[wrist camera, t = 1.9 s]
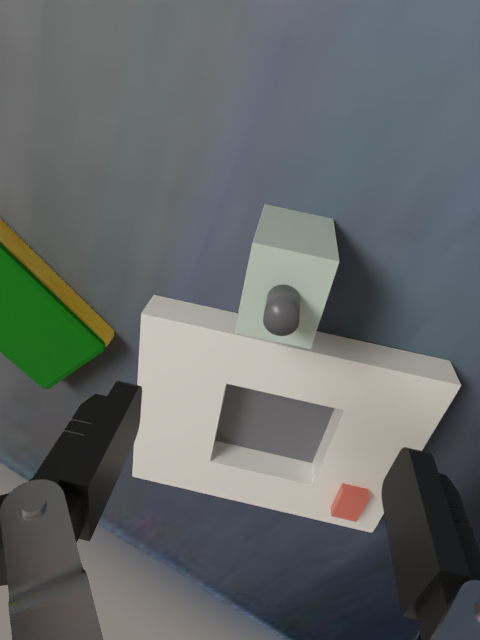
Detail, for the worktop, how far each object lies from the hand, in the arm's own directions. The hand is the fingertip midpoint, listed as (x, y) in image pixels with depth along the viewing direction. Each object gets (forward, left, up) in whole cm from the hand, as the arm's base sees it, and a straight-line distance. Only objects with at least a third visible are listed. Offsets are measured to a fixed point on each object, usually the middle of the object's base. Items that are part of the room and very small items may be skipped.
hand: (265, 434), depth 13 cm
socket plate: (-2, +13, -15) cm, 20 cm away
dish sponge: (+18, +7, -16) cm, 25 cm away
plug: (0, 0, -15) cm, 15 cm away
